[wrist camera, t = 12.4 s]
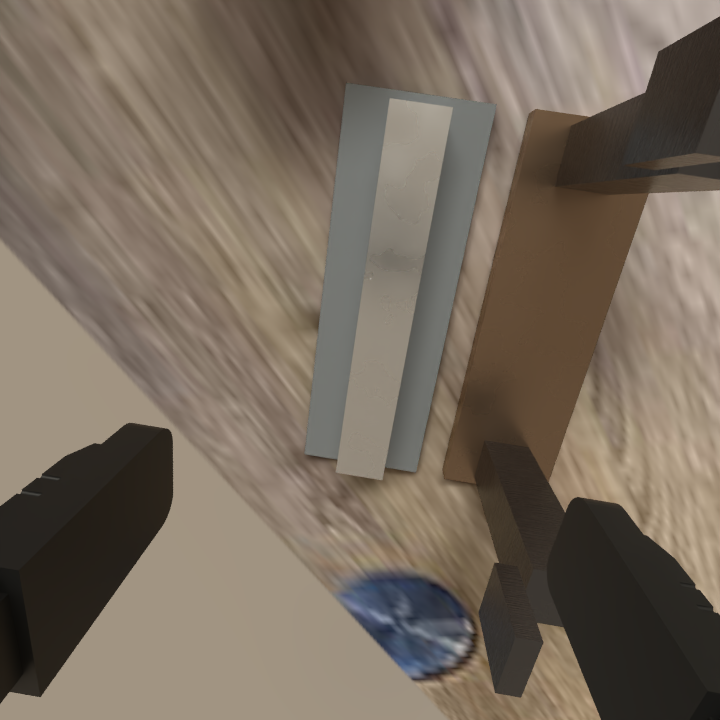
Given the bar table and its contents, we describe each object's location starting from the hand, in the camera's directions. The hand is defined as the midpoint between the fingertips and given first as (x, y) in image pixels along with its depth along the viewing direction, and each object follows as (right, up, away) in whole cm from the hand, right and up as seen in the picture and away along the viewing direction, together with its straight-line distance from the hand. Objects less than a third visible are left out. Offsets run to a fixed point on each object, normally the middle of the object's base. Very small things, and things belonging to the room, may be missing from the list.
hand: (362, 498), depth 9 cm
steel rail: (+2, +6, +18) cm, 19 cm away
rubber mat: (+2, +6, +19) cm, 20 cm away
